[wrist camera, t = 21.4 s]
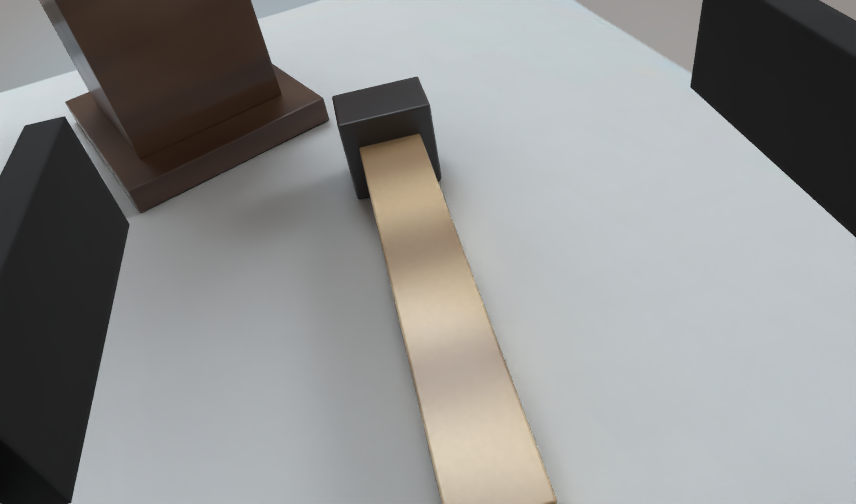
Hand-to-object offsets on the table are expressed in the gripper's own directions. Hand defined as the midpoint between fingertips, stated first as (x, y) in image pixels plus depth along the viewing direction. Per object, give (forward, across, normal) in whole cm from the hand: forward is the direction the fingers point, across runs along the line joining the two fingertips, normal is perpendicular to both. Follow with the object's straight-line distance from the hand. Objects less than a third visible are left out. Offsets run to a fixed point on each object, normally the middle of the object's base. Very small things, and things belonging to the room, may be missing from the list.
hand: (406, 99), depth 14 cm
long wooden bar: (+7, 0, -13) cm, 15 cm away
